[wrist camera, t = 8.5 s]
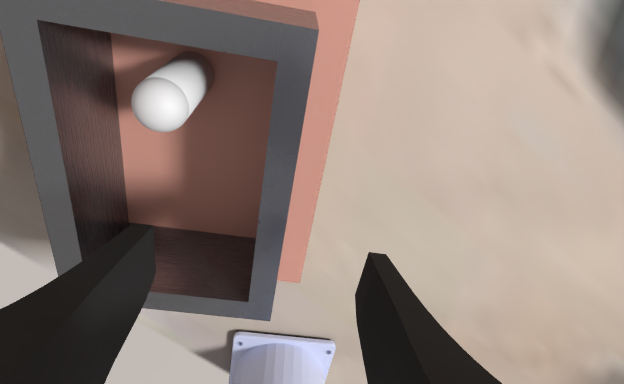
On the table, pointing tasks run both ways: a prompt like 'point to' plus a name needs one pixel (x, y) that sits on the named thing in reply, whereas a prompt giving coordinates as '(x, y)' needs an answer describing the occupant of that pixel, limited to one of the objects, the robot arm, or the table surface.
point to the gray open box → (107, 141)
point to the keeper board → (223, 131)
